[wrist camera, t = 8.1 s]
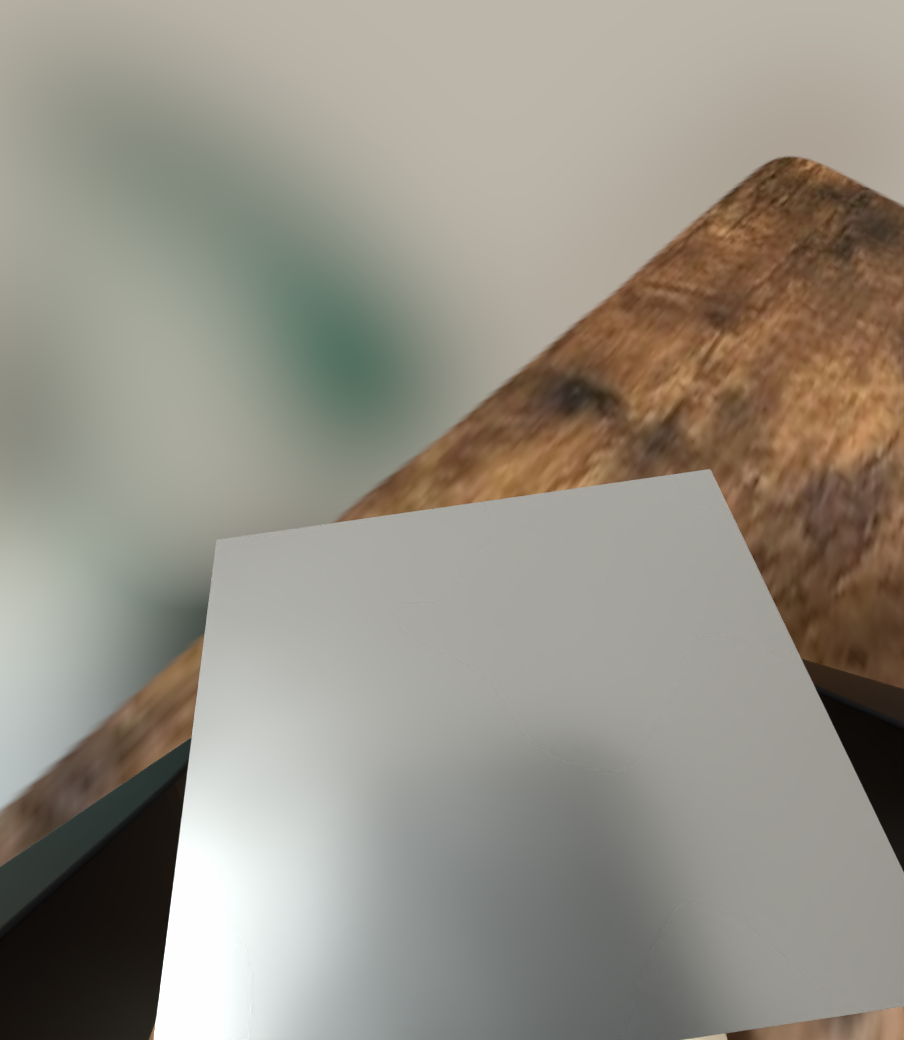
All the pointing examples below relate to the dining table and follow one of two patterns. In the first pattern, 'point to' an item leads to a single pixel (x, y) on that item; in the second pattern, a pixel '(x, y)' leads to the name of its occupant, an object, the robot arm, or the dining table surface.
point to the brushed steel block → (518, 787)
